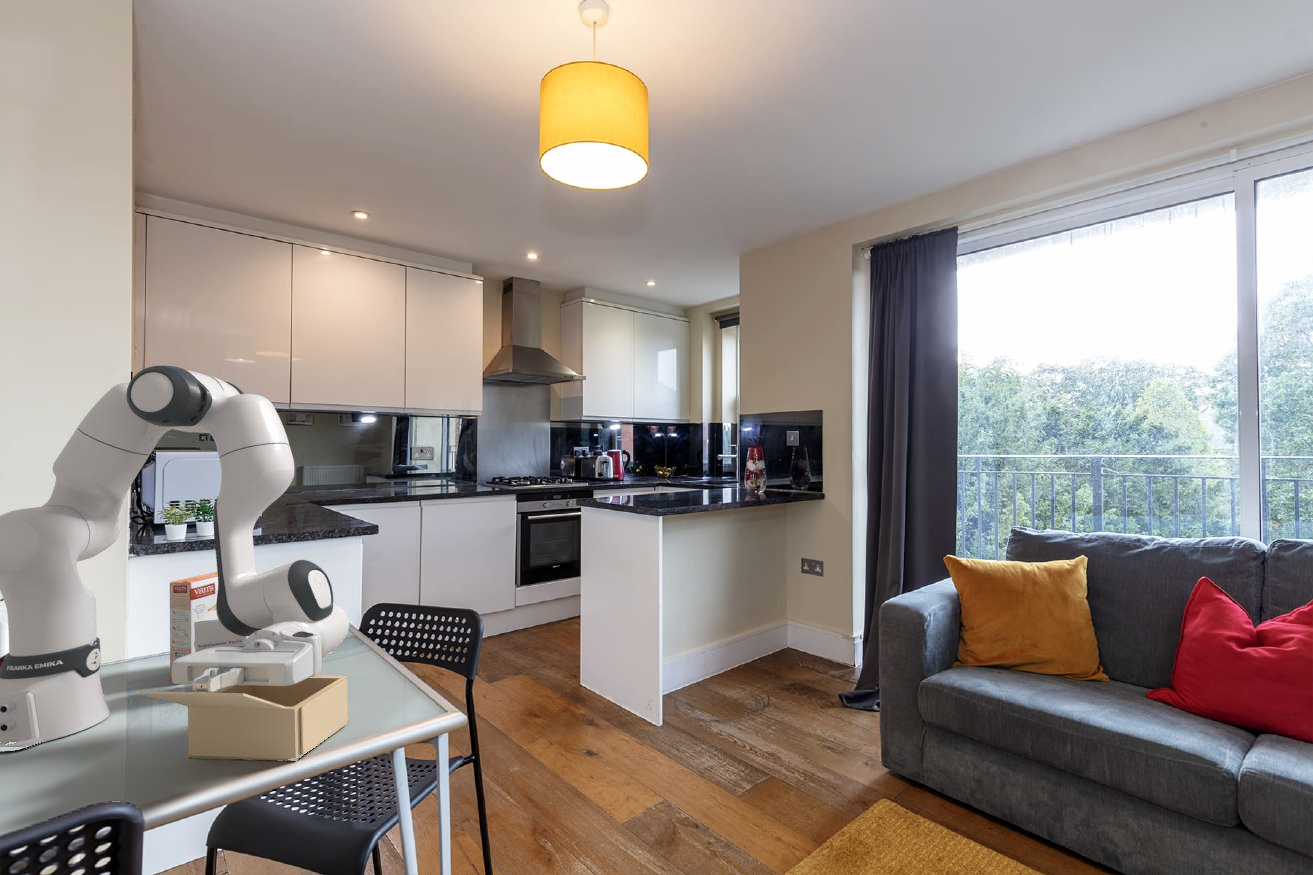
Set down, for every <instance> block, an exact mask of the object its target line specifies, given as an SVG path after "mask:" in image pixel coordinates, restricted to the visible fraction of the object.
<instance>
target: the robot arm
mask: <svg viewBox="0 0 1313 875" xmlns="http://www.w3.org/2000/svg"><path fill="white" fill-rule="evenodd" d="M171 430H174V431H180V432H185V433H200V434H204V435H210V436H211V437H212V438H213V440H214V443H215V445H216V451H217V454H218V458H219V463H220V469H221V482H220V488H219V493H218V496H217V497H216V499H215V501H214V505H213V509H212V510H213V513H212V514H213V515H212V516H213V517H212V520H213V522H212V523H213V536H214V545H215V546H214V548H215V557H216V558H215V560H216V570H217V571H216V572H218V593H217V602H216V612H217V616H218V619H219V621H220V622H221V624H222V625H223V626H224V627H225V628H226V629H228V630H229V631H231V632H232V633H234V634H236V635H239V636H249V637H248V638H247V639H246V641H245V642H244V644H243V647H213V648H208V649H204V650H201V651H198V652H195V653H192V654H189V655H186V656H183V657H180V658H178V659H176V660H174V662H173V663H172V680H171V682H172V683H173V684H175V685H192V686H191V687H192V688H191V690H192V692H198V691H203V692H214V691H216V690H218V689H220V688H224V687H228V686H233V685H251V686H289V685H293V684H297V683H299V682H301V681H303V680H305V679H307V678H309V677H313V676H318V675H319V674H320V673H321V672H322V658H324V657H325V656H326V655H329V653H331V652H333V651H334V650H335V649H336V648H338V647H339V646H340V645H341V644H342V642H344V640H345V638H346V637H347V635H348V632H349V629H350V619H349V616H348V613H347V611H346V610H345V609H344V608H343V607H342V606H340V605H338V604H337V603H336V602H335V601H334V593H333V587H332V583H331V581H330V579H329V577H328V574H327V573H326V572H325V571H324V570H323V569H322V568H321V567H320V566H319V565H317V564H316V563H315V562H312V561H310V560H307V559H298V560H295V561H293V562H290V563H289V562H288V563H286V564H283V565H281V566H277V567H275V568H273V569H270V570H267V571H265V572H264V571H263V572H261V573H259V574H258V573H257V569H256V567H257V566H256V555H255V547H254V538H253V536H254V535H253V533H254V528H255V524H256V523H257V521H258V519H259V518H260V516H262V514H263V513H264V512H265V510H266V509H268V507H269V506H271V505H272V504H273V503H274V502H275V501H277V500H278V499H279V498H280V497H281V496H282V495H283V494H284V493H285V492H286V491H287V490H288V489H289V487H290V486H291V484H292V481H293V480H294V477H295V459H294V457H293V453H292V449H291V445H290V442H289V438H288V436H287V432H286V430H285V427H284V425H283V422H282V419H281V418H280V415H279V414H278V412H277V409H276V408H275V406H274V404H273V403H272V402H271V401H270V400H269V399H268V398H267V397H265V396H263V395H261V394H254V393H245V392H244V391H242V389H241V388H239V387H237V386H236V385H235V384H233V383H231V382H228V381H225V380H223V379H220V378H218V377H216V376H213V375H210V374H207V373H203V372H196V371H192V370H187V369H186V368H185V369H184V368H182V367H179V366H175V365H153V366H149V367H145V368H144V369H141V370H140V371H139V372H137V373H136V374H135V375H134V376H133V377H132V378H131V380H130V381H129V382H121V383H118V384H115V385H114V386H112V387H111V388H110V389H109V390H108V391H106V393H105V394H104V395H102V396H101V398H100V399H98V401H97V402H96V403H95V404H94V405H93V407H92V408H91V409H90V410H89V411H88V413H87V414H86V415H85V416H84V418H83V419H82V420H81V421H80V422H79V425H78V426H77V427H76V429H75V431H74V432H73V434H72V435H71V437H69V440H68V441H67V443H66V444H65V445H64V447H63V449H62V450H61V452H59V455H58V456H57V458H56V459H55V461H54V462H53V465H52V472H53V475H54V476H55V482H54V486H53V489H52V493H51V496H50V497H49V499H48V500H47V501H46V503H44V504H43V505H42V506H37V507H36V506H35V507H28V508H21V509H15V510H11V511H9V512H6V513H4V514H0V593H1V595H2V599H3V600H4V603H5V607H6V613H7V626H8V652H7V653H6V654H4V655H2V656H0V742H1V743H0V747H26V746H30V745H34V746H36V745H35V744H37V745H39V744H42V743H46V742H48V741H52V740H57V739H59V738H63V737H67V736H69V735H72V734H75V733H78V732H81V731H84V730H86V729H89V728H91V727H94V726H95V725H97V724H100V723H101V722H103V721H104V720H107V718H109V717H110V715H111V710H110V708H109V706H108V704H107V701H106V698H105V695H104V691H103V687H102V681H101V676H100V675H101V674H100V669H101V658H102V657H101V640H100V638H99V637H98V635H97V633H98V632H97V598H96V596H95V594H94V593H93V591H91V590H89V589H88V588H86V586H85V585H84V582H83V581H82V579H81V577H80V574H79V570H78V565H77V563H78V562H82V561H86V560H89V559H91V558H94V557H95V556H97V555H99V554H100V553H102V552H104V551H105V550H107V549H108V548H110V547H111V546H112V545H113V544H114V543H115V542H116V541H117V540H118V538H119V536H120V532H121V522H120V519H119V518H120V513H121V509H122V507H123V503H124V501H125V499H126V495H127V493H128V491H129V489H130V487H131V485H132V484H133V483H134V480H135V479H136V478H137V476H138V474H139V473H140V471H141V470H142V468H143V466H144V465H145V463H146V462H147V460H148V458H149V457H150V455H151V453H153V451H154V450H155V447H156V446H157V444H158V442H159V441H160V440H161V438H162V437H163V435H165V434H166V433H167V432H169V431H171ZM9 742H16V743H14V744H10V745H9V744H8V745H5V744H7V743H9ZM41 742H42V743H41ZM38 743H39V744H38Z"/></svg>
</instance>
